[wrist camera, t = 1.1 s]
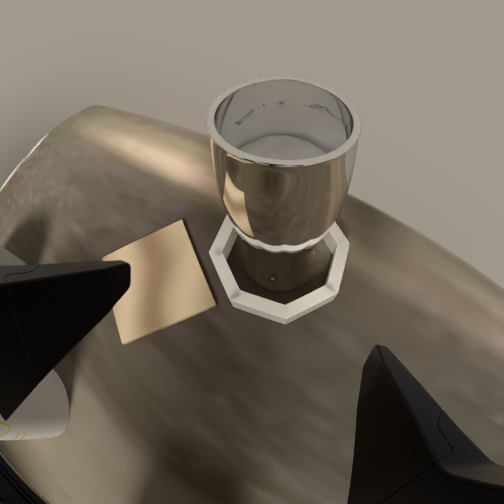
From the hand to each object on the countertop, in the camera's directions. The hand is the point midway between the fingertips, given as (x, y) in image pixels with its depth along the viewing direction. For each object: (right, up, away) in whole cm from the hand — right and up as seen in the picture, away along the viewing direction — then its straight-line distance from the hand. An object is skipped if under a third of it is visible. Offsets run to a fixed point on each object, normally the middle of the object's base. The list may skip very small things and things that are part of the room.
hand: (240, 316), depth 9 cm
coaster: (-8, 0, +15) cm, 17 cm away
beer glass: (+3, +1, +15) cm, 16 cm away
